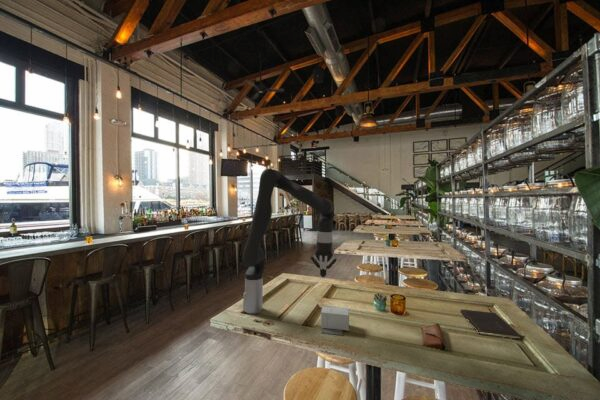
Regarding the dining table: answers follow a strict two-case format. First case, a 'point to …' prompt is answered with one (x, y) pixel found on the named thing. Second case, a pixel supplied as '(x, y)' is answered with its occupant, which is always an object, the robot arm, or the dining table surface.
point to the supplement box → (335, 318)
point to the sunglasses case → (433, 337)
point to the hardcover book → (489, 323)
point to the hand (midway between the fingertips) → (323, 276)
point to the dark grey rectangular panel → (332, 331)
